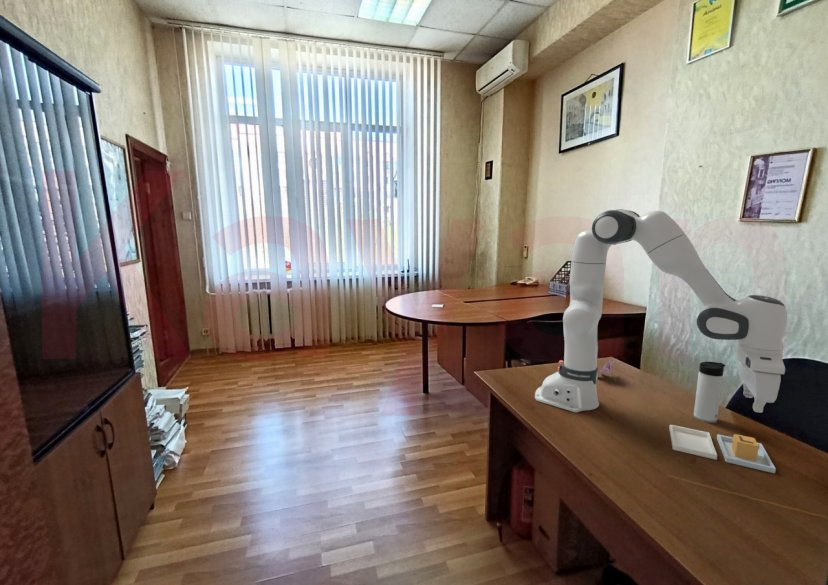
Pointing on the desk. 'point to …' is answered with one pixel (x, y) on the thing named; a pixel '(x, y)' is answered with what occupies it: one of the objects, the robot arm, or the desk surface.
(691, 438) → the tray white
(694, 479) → the desk surface
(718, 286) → the robot arm
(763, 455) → the tray bluegrey
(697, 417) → the travel mug
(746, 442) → the letter cube
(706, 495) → the desk surface
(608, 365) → the lily
